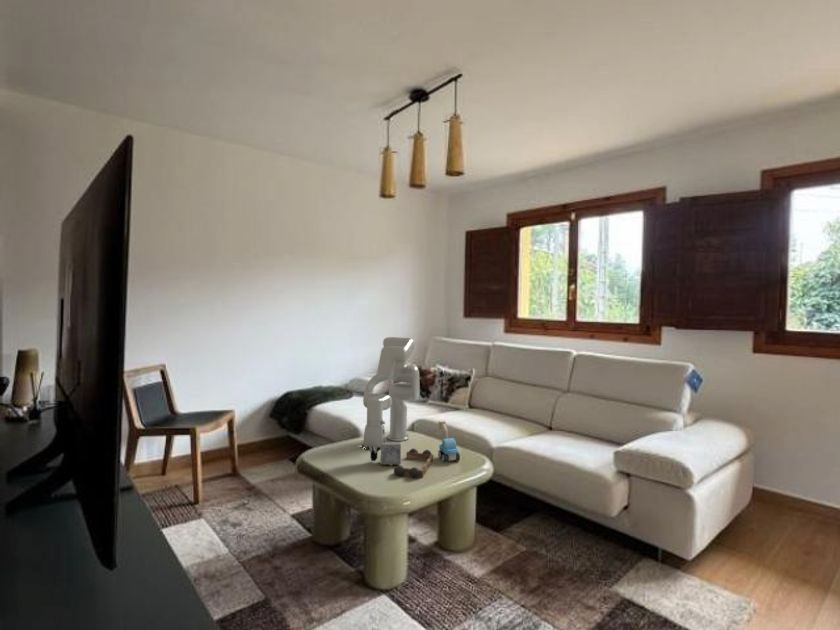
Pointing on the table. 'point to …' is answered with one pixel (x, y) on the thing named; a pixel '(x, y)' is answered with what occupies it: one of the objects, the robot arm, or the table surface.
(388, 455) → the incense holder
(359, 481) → the table surface
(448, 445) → the toy excavator
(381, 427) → the robot arm
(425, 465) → the chassis bay
